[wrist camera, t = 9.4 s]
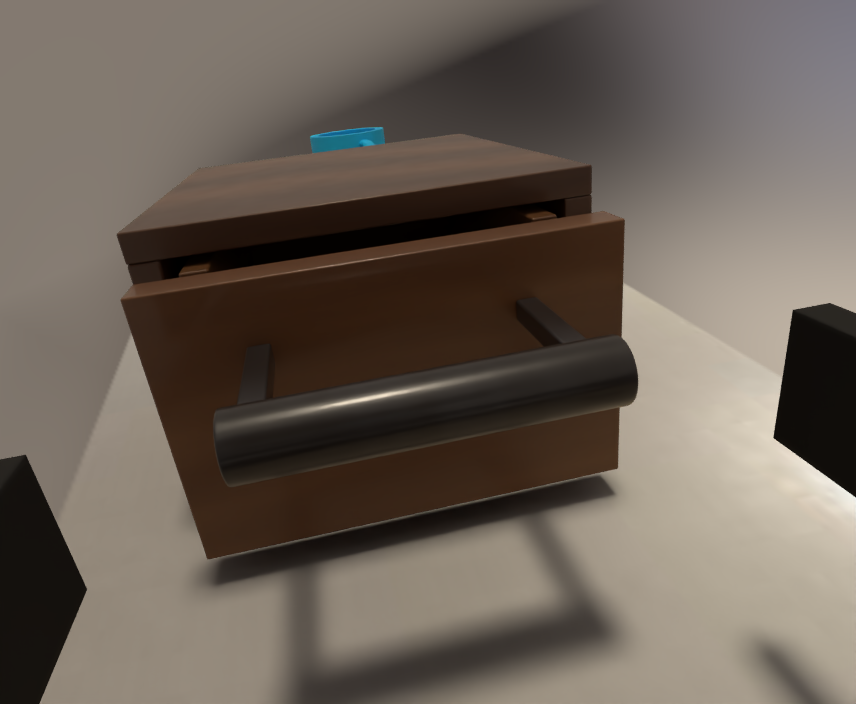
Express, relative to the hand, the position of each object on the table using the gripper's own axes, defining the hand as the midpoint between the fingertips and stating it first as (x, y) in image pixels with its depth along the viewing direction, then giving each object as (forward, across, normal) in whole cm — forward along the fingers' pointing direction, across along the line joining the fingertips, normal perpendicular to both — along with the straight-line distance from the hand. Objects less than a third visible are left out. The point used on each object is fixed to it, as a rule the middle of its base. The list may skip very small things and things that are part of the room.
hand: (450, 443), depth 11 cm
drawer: (+11, 0, -6) cm, 12 cm away
